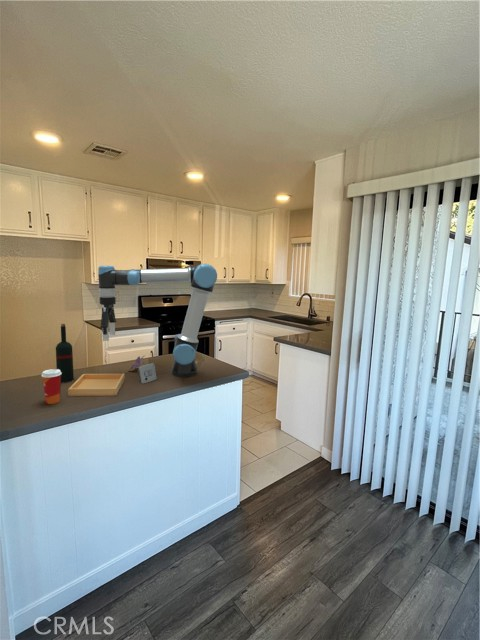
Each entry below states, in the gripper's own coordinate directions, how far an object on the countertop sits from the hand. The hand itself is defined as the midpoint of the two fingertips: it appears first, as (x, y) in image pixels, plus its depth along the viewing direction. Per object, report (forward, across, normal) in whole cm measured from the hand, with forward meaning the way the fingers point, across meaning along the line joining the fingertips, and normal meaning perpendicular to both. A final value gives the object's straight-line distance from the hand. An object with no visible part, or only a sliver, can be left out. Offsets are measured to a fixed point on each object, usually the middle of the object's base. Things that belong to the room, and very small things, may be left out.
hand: (109, 337), depth 165 cm
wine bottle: (+23, -3, -24) cm, 34 cm away
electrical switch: (+24, 0, +18) cm, 30 cm away
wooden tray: (+24, +9, -4) cm, 26 cm away
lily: (+24, -17, +11) cm, 32 cm away
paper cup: (+24, +25, -19) cm, 39 cm away
